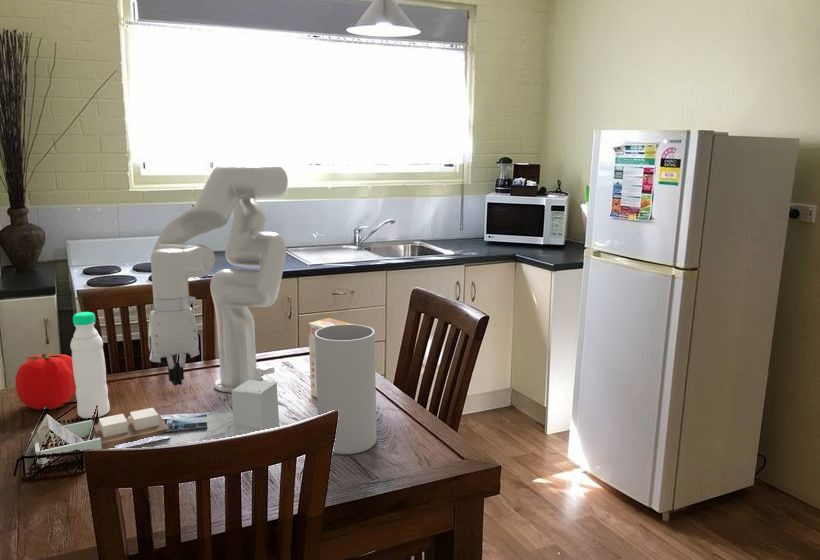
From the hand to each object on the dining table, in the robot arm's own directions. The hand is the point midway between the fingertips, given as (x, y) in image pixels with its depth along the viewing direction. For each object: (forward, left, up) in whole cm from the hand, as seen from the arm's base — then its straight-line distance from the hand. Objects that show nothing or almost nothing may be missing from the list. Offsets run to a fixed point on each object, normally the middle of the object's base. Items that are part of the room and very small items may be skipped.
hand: (176, 383), depth 158 cm
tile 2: (+7, -1, -8) cm, 11 cm away
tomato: (+23, -32, -11) cm, 41 cm away
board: (+10, -1, -11) cm, 15 cm away
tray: (+23, -1, -11) cm, 26 cm away
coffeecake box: (-39, +4, -11) cm, 40 cm away
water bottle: (+15, -20, -11) cm, 27 cm away
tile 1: (+14, -1, -8) cm, 16 cm away
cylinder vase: (-29, +28, -11) cm, 42 cm away
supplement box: (-13, +16, -11) cm, 23 cm away
